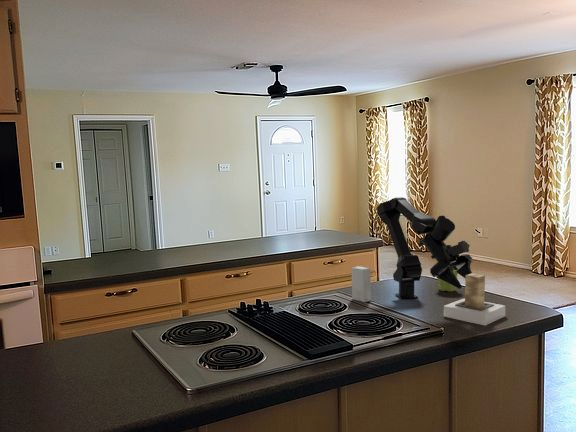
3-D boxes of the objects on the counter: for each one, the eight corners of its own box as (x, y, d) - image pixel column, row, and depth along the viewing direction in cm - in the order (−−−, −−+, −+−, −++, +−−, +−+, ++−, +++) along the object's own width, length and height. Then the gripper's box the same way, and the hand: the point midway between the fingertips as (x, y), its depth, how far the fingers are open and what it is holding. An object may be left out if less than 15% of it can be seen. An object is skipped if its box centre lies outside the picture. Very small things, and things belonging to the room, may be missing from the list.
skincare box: (371, 300, 188) (371, 267, 187) (363, 302, 185) (363, 269, 184) (359, 297, 193) (359, 265, 191) (350, 299, 190) (350, 267, 189)
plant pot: (429, 288, 205) (429, 267, 204) (447, 286, 209) (448, 265, 208) (445, 293, 197) (446, 271, 196) (464, 291, 200) (464, 269, 200)
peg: (464, 314, 167) (465, 275, 165) (471, 312, 170) (472, 273, 168) (477, 317, 163) (478, 277, 162) (484, 314, 166) (484, 275, 165)
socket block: (443, 316, 167) (443, 304, 166) (464, 308, 176) (464, 296, 176) (485, 325, 157) (485, 313, 156) (505, 316, 166) (505, 304, 166)
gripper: (439, 236, 163) (471, 275, 156) (467, 230, 176) (498, 266, 169) (417, 257, 170) (447, 296, 163) (446, 250, 183) (474, 286, 176)
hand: (467, 285), depth 168 cm, fingers open, 9 cm apart
